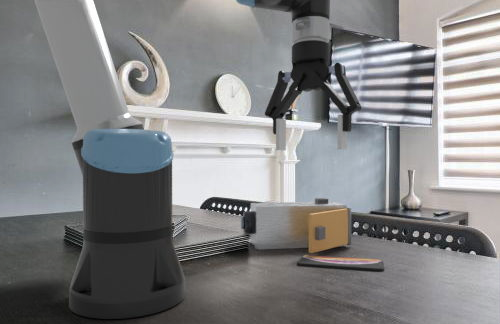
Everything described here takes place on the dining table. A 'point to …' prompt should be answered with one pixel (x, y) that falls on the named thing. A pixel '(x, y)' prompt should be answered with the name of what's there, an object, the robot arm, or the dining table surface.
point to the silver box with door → (283, 223)
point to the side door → (329, 229)
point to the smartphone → (341, 263)
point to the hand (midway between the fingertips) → (310, 150)
